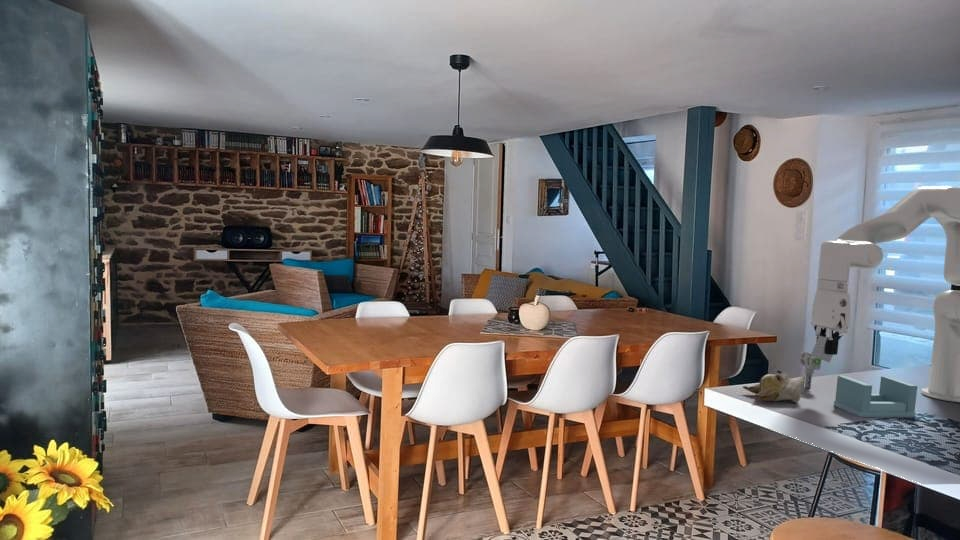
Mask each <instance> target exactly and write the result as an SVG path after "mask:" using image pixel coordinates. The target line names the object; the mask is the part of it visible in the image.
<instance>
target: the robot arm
mask: <svg viewBox="0 0 960 540" xmlns="http://www.w3.org/2000/svg"><path fill="white" fill-rule="evenodd" d="M930 218H931V219H932V218H934V219H935V220H936V222H938V223H939V225H940V226H941V227H942V228H943V231H944V233H945V237H946V238H945V239H946V244H945V245H946V246H945V253H944V255H945V256H944V263H943V277H944V279H945V281H946V282H947V283H948V284H951V285H954V286H958V287H959V286H960V187H957V186H950V185H945V186H944V185H942V186H941V185H939V186H937V185H934V186H933V185H931V186H921V187H917V188H914V189H912V190H911V191H910V192H909V193H908V194H906V195H904V197H902V198H901V199H900V200H898V201H897V202H896V203H895V204H894V205H892V206H891V207H890V208H888V210H885V212H883V213H882V214H881V215H880V214H879V215H877V216H875V217H873V218H870V219H868V220H865V221H863V222H860V223H858V224H855V225H854V226H853V227H850V228H848V229H847V230H845V231H844V232H843V233H841V234H840V235H839V236H838V237H837V238H835V239H834V240H825V241H823V242H822V243H820V244H821V245H820V250H819V261H818V273H817V282H816V291H815V295H814V299H813V303H812V310H811V321H810V324H811V326H812V327H813V329H814V331H815V336H816V341H817V339H818V337H819V336H823V337H826V338H829V340H827V343H826V354H828V355H835V356H836V355H838V351H839V342H840V341H841V338H842V337H843V336H844V335H846V334H847V333H849V331H848V329H850V325H851V324H850V323H851V297H850V293H849V281H850V272H851V271H850V270H851V268H852V269H857V270H871V269H874V268H876V267H878V266H879V265H880V264H881V263H882V261H883V258H884V254H883V250H882V248H881V247H880V246H879V245H878V244H882V243H888V242H892V241H893V242H894V241H896V240H901V239H904V238H906V237H908V236H909V235H910V234H911V233H913V232H914V231H915V230H917V229H918V228H919V227H920V226H921V225H922V224H924V223H925V222H926V221H927V220H928V219H930ZM933 316H934V333H933V334H934V336H933V343H932V352H931V353H932V354H931V363H930V371H929V376H928V377H929V379H928V386H927V387H923V388H921V391H920V392H921V394H922V395H924V396H927V397H928V398H932V399H937V400H939V401H940V400H941V401H947V402H952V403H960V290H957V289H956V290H953V289H951V290H950V289H949V290H945V291H941V292H939V294H937V296H936V297H935V298H934V301H933ZM816 341H815V342H816Z"/></svg>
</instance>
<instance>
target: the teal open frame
mask: <svg viewBox="0 0 960 540" xmlns="http://www.w3.org/2000/svg"><path fill="white" fill-rule="evenodd" d="M836 379H837V381H836V389H835V390H836V391H835V400H834V401H833V406H834V407H836V408H837V407H838V408H839V409H841V410H844V411H846V412H849V414H850V413H851V414H853V415H855V416H858V417H860V418H861V417H862V418H863V417H864V418H872V417H873V418H874V417H875V418H915V417H916V414H917V413H916V411H915V410H916V405H917V404H916V403H917V395H918V385H915V384H913V383H909V382H906V381H904V380H901V379H897V378H894V377H891V376H886V375H885V376H884V375H882V376H881V375H880V383H879V393H872V392H873V384H872V385H871V384H869V383H866V382H864V381H860V380H859V379H855V378H852V377H849V376H847V375H837V378H836Z"/></svg>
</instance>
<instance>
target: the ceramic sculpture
mask: <svg viewBox="0 0 960 540" xmlns="http://www.w3.org/2000/svg"><path fill="white" fill-rule="evenodd" d="M805 380H806V375H805V376H804V375H802V376H797V377H793V378H792V377H790V376H788V374H787V373H785V372H784V371H781V370H779V369H778V370H777V371H776V372H775V374H774V373H770V374H769V373H768V374H767V373H766V374H765V375H763V376H762V377H761V378H760V380H759V383H758V384H757V383H756V384H755V385H753V386H747V385H745V386H742V388H743V389H744V390H746V391H748V392H749V393H752V394H754V395H753V397H755V398H757V399H759V400H762V401H766V402H769V401H771V402H779V401H784V400H785V401H786V400H789V401H790V402H792V403H795V404H797V403H798V402H799V401H800V400H801V396H802V394H803V393H804V390H805Z"/></svg>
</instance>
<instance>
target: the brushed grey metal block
mask: <svg viewBox="0 0 960 540" xmlns="http://www.w3.org/2000/svg"><path fill="white" fill-rule="evenodd" d="M817 337H818V336H817ZM826 337H827V336H826ZM826 337H823V336H819V337H818V339H817V338H816V340H817V341H815V344H814V347H813V349H812V351H811V353H810V354H811V356H813V357H816V358H818V359H820V360H821V361H824V362H826V363H830V362H831V360H832V358H833V355H828V354H826V343H827V340H829V337H828V338H826Z"/></svg>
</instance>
